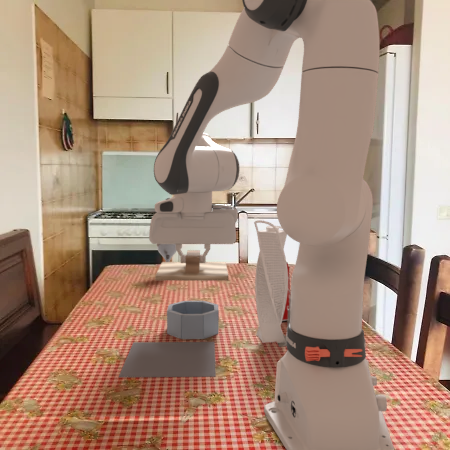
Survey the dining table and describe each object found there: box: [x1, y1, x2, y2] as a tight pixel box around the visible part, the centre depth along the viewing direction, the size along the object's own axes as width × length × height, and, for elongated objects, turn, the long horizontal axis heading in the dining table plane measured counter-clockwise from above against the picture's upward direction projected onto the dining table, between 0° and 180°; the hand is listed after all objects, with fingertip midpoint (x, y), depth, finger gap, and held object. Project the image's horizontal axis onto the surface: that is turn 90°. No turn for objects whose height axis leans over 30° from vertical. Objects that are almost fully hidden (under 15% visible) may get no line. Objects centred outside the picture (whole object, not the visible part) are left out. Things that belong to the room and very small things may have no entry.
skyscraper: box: [253, 219, 291, 348], centre depth 109 cm, size 8×8×28 cm
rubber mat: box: [118, 341, 217, 378], centre depth 99 cm, size 18×18×1 cm
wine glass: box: [156, 244, 177, 262], centre depth 173 cm, size 8×8×15 cm
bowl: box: [166, 300, 220, 340], centre depth 115 cm, size 12×12×6 cm
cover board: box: [154, 249, 229, 282], centre depth 114 cm, size 16×16×4 cm
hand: (193, 262), depth 114 cm, fingers closed on cover board, 3 cm apart
